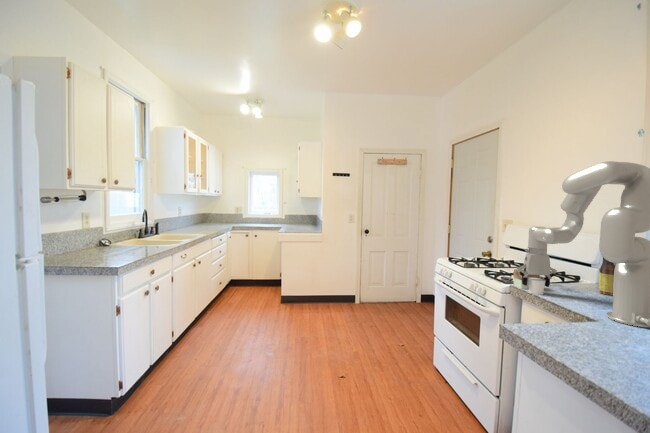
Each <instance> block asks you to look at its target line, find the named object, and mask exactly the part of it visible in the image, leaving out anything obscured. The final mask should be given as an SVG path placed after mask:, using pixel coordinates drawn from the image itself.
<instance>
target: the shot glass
mask: <svg viewBox="0 0 650 433" xmlns="http://www.w3.org/2000/svg"><path fill="white" fill-rule="evenodd" d="M528 281H529V289H528V292H529V293H530V294H534V295H538V296H541V295H544V293H545V287H546V286H545V280H544V278H532V277H531V278H528Z"/></svg>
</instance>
